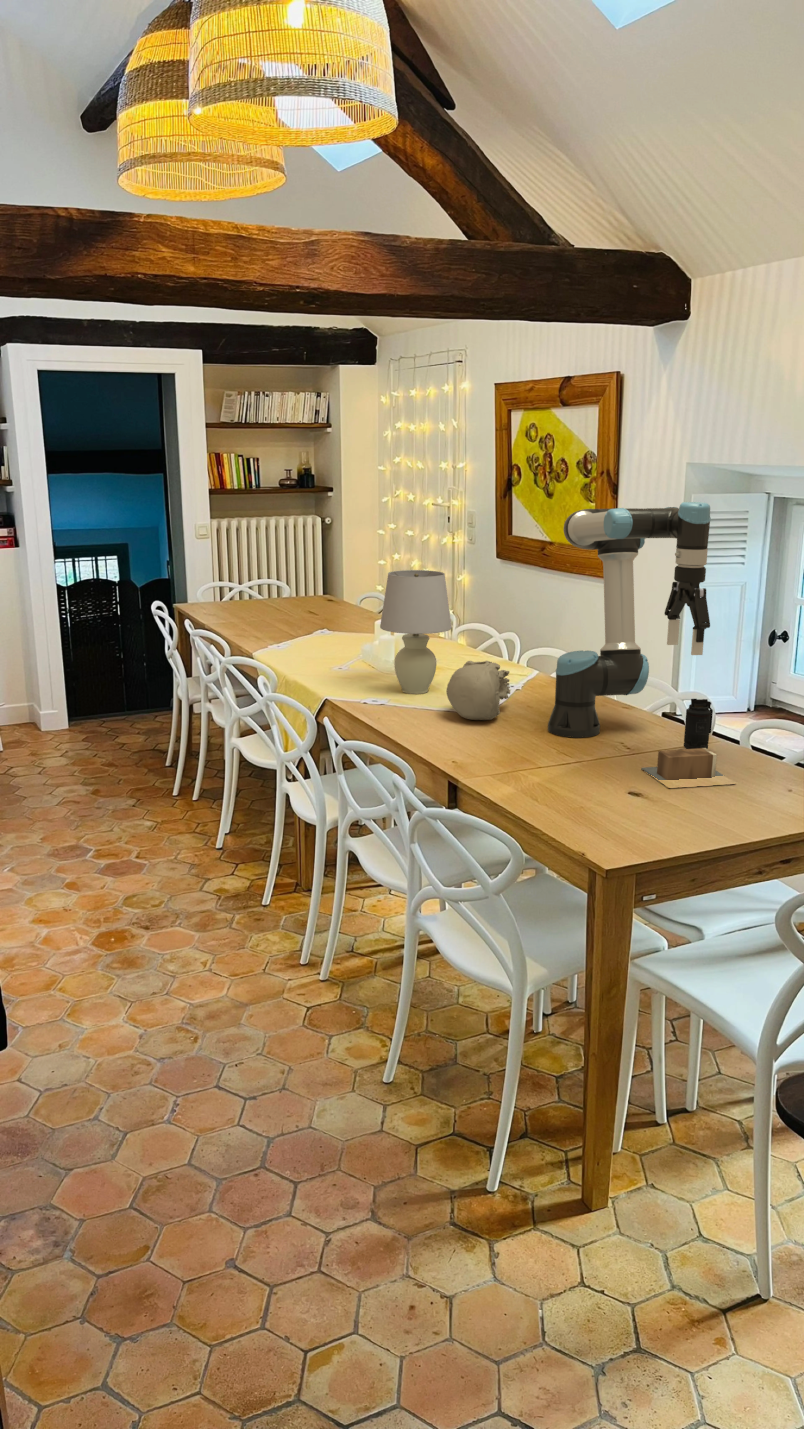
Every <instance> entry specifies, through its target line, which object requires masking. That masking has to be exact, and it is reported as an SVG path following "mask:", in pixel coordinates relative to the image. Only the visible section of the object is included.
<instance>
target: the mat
mask: <svg viewBox="0 0 804 1429" xmlns="http://www.w3.org/2000/svg"><path fill="white" fill-rule="evenodd" d="M642 770H644V771H645V772H647V773H648V774H650V775H652V776H654V777H655V778H657V779H658V780H666V779H664V778H663V777H661V776H660V775H659V774H657V766H648V767H641V771H642ZM644 771H643V772H644ZM645 772H644V773H645ZM647 773H646V774H647ZM648 774H647V775H648ZM723 775H724V774H723V773H721V772H719V771H718V770H716V772H715V776H723Z"/></svg>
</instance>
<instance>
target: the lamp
mask: <svg viewBox="0 0 804 1429" xmlns="http://www.w3.org/2000/svg"><path fill="white" fill-rule="evenodd" d="M449 605H450V604H449V598H448V589H447V582H446V573H445V572H441V571H437V570H427V569H426V570H425V569H405V570H404V569H403V570H401V569H400V570H393V571H390V572H388V573H387V579H386V587H385V593H384V599H383V605H382V613H381V619H380V625H379V627H380V630H382V631H386V632H390V633H397V634H403V635H402V637H401V639H402V642H403V644H404V647H402V648H401V649H400V650H399V651H397V653H396V654H395V657H394V662H393V664H394V670H395V675H396V678H397V682H398V683H399V686H400V687H401V691H402V693H405V694H409V695H421V694H422V695H423V694H426V693H427V692H429V688H430V686H431V685H432V682H433V681H434V680H433V679H434V677H435V675H436V670H437V658H436V655H435V653H434V652H433V651H432V650H431V649H430V648H429V647H428V642H429V640H430V636H429V635H430V634H439V633H445V632H448V631H450V630H452V628H453V627H452V621H451V614H450V606H449ZM428 634H429V635H428Z"/></svg>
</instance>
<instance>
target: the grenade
mask: <svg viewBox="0 0 804 1429" xmlns="http://www.w3.org/2000/svg"><path fill="white" fill-rule="evenodd" d="M711 706H712V702H711V701H709V700H708V698H703V699H697V698H690V704H689V705H688V708H687V709H686V712H685V723H684V733H683V736H684V738H683V742H684V743H683V747H684V748H685V749H699V748H706V749H708V748H709V741H710V740H709V739H710V734H711V733H712V724H713V714H714V710H713V709H712V707H711ZM708 750H709V749H708Z"/></svg>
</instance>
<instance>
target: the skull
mask: <svg viewBox="0 0 804 1429" xmlns="http://www.w3.org/2000/svg"><path fill="white" fill-rule="evenodd" d="M500 669H501V666H500V664H498V663H496V662H492V661H489V660H485V661H472V660H468V661H466V662H465V663H464V664H463V666H462V667H459V668H458V669H456V670H455V671H454V672H453V674H452V675H451V677H450V679H449V681H448V683H447V687H446V696H447V699H448V701H449V704H450V706H451V707H452V709H453V710H454V711H455V712H456V713H457V714H458V715H459V716H460V717H462V718H464V719H467V720H470V721H471V720H472V721H491V720H493V719H494V718H495V719H496V717H498V716H499V715H500V714H501V712H500V711H501V710H500V700H502V701H503V700H507V699H509V696H508V694H509V695H510V694H511V689H510V688H511V687H510V683H509V682H510V679H509V678H508V677H507V676H509V674H510V670H506V669H501V670H500ZM506 677H507V678H506Z"/></svg>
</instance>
